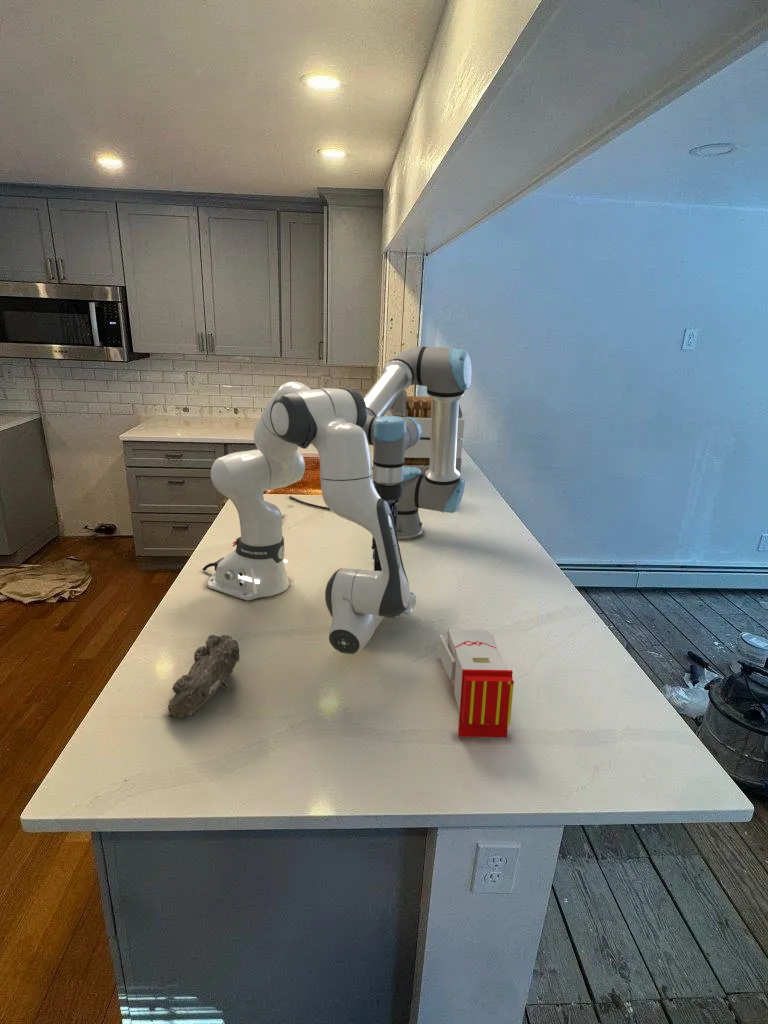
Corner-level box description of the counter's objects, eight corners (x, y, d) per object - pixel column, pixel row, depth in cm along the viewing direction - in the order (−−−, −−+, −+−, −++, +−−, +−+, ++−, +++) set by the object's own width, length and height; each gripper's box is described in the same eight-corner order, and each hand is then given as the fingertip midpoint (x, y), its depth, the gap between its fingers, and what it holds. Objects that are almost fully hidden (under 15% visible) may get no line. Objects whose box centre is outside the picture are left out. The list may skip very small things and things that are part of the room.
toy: (488, 613, 130) (523, 677, 101) (484, 667, 133) (517, 744, 104) (435, 612, 130) (455, 676, 101) (432, 666, 133) (451, 743, 103)
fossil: (192, 637, 126) (240, 606, 121) (222, 665, 128) (270, 636, 123) (145, 711, 106) (200, 678, 101) (182, 743, 109) (237, 712, 104)
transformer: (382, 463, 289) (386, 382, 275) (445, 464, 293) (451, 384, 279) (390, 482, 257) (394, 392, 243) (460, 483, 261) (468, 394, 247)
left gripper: (409, 604, 132) (422, 579, 145) (328, 589, 138) (347, 566, 150) (407, 628, 135) (421, 601, 147) (327, 612, 140) (347, 588, 152)
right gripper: (384, 469, 148) (381, 551, 156) (359, 489, 131) (357, 579, 139) (412, 473, 146) (407, 555, 154) (390, 494, 129) (386, 585, 137)
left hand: (383, 584), depth 149 cm, fingers closed on jar, 5 cm apart
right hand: (383, 566), depth 146 cm, fingers closed on lid, 6 cm apart
